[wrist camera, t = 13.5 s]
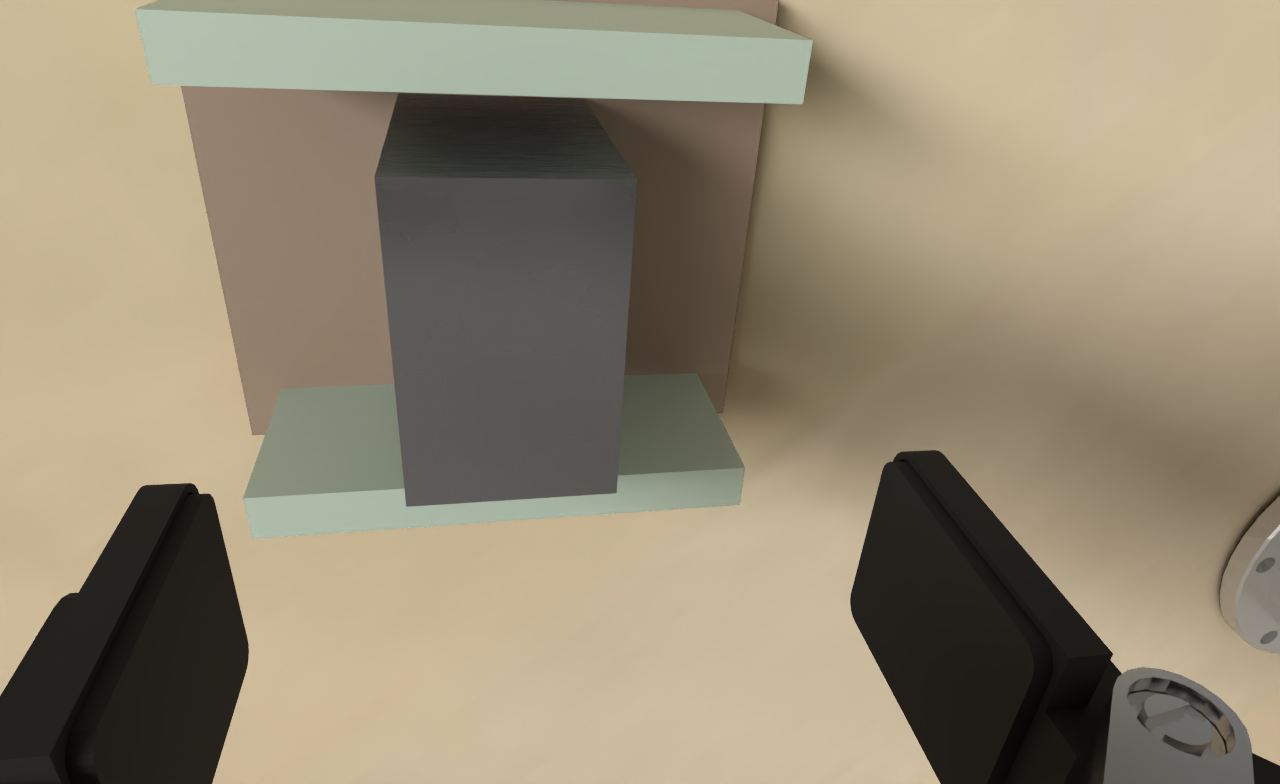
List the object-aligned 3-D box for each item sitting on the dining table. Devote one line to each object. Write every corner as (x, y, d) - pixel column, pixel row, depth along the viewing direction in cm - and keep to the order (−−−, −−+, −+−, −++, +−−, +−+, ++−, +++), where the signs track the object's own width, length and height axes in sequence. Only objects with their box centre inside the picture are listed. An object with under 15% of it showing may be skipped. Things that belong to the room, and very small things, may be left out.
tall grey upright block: (584, 98, 21) (637, 179, 15) (577, 347, 24) (616, 493, 18) (398, 92, 20) (373, 177, 14) (418, 351, 23) (406, 506, 17)
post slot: (766, -5, 21) (863, 26, 16) (714, 396, 27) (773, 511, 22) (169, -40, 18) (62, -15, 13) (259, 416, 24) (208, 552, 19)
